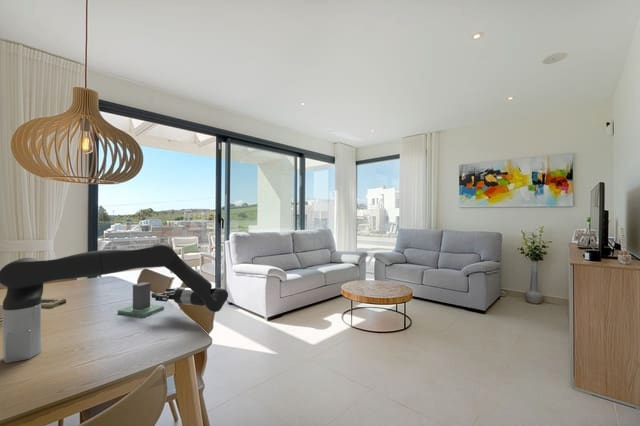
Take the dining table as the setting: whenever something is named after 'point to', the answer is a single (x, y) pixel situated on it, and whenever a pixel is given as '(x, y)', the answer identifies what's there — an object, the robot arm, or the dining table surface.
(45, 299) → the computer
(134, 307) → the block
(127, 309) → the board
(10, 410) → the dining table surface
